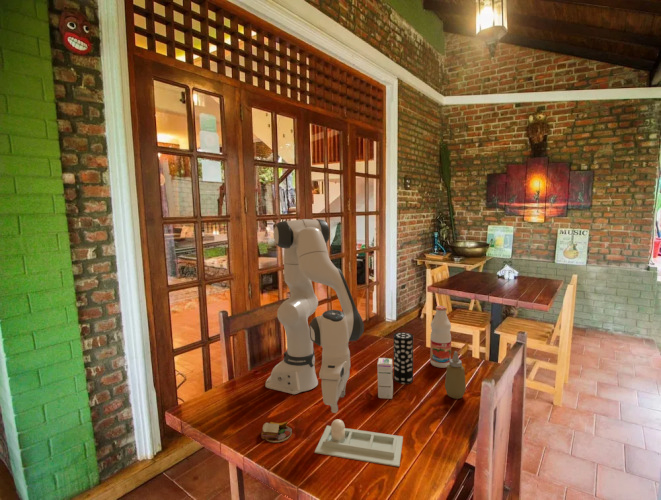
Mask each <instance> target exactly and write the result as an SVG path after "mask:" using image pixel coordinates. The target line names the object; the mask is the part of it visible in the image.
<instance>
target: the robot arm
mask: <svg viewBox="0 0 661 500" xmlns="http://www.w3.org/2000/svg"><path fill="white" fill-rule="evenodd" d="M330 232H331V230H330V226H329V224H328V223H327V221H326V220H323V219H319V218H316V219H312V218H301V219H294V220H288V221H286V220H283V221H279V222H277V223H276V225H275V226H274V230H273V233H272V234H273V240H274V243H275V245H276V246H277V247H279V248H281V249H284V250H283V273H284V275H283V276H284V278H283V279H284V283H285V284H286V285H287V287H288V290H289V294H290V297H289V298H287V299H286V300H284V301H283V302H282V303H281V304H280V306H279V307H278V309H277V310H276V311H277V312H276V313H277V314H276V316H277V319H278V322H279V323H280V324H281V325H282V326H283V327H284V331H285V336H286V347H287V348H286V349H285V352H284V353H282V355H281V359H282V360H281V361H280V362H279V363H277V364H276V365H275V366H274V367H273V368H272V370H271V373H270V376H268V377H267V379H266V381H265V388H267V389H271V390H275V391H279V392H283V393H288V394H290V395H291V394H292V395H297V394H299V393H302V392H307V391H310V390H312V389H314V388H316V387H317V386H318V385H319V380H318V378H317V374H316V373H317V372H316V368H315V363H316V357H315V356H316V355H315V350H314V344H316V345H317V346H319V347H322V352H321V366H320V370H319V373H318V376H319V379H320V380H321V394H322V401H323V404H324V405H325V406H330V412H331V413H333V414H337V413H338V412H339V405H338V401H339V399H340V398H344V397H345V395H346V386H347V382H348V380H349V378H350V375H351V373H350V369H351V351H350V349H349V342H357V341H358V340H359V339H360V338H361V337H362V336H363V333H364V331H365V325H364V321H363V318H362V316H361V314H360V312H359V311H358V308H357V306H356V304H355V300H354V298H353V295H352V293H351V291H350V287H349V285H348V282H347V280H346V278H345V276H344V274H343V272H342V270H341V268H339V267H336V265H335V264H334V263H333V262H332V261H331V258H330V255H329V251H328V250H329V249H328V247H327V243H328V241H329V240H330V237H331V235H330ZM313 282H314V283H317V284H321V285H325V286H327V287H330V288H331V289H333V291H335V293H336V296H337V299H338V301H339V305H340V306H341V310H338V309H328V310H326V311H324V312H323V313H322V314H321V315H318V316H315V317H313V319H312V320H311V321H310V323H308V320H309V317H311V316H312V315H313V314H314V313H315V312H316V310H317V308H318V306H319V298H318V297H317V295H316V294H315V291H314V287H313Z"/></svg>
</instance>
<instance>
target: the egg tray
mask: <svg viewBox="0 0 661 500" xmlns="http://www.w3.org/2000/svg"><path fill="white" fill-rule="evenodd" d="M403 439H404V436H403V435H396V434H389V433H388V434H387V433H382V432H374V431H368V430H362V429H361V430H360V429H355V428H354V429H353V428H346V427H345V442H344V443H339V442H333V441H332V440H331V425H326V427H325V428H324V431H323V433H322V435H321V437H320V439H319V442H318V444H317V445H316V448H315V450H314V454H321V455H325V456H332V457H337V458H338V457H339V458H343V459H350V460H356V461H361V462H366V463H367V462H369V463H374V464H379V465H385V466H386V465H387V466H392V467H398V468H399V467H400V464H401V457H402V450H403V443H404V442H403V441H404V440H403Z"/></svg>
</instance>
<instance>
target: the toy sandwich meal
mask: <svg viewBox="0 0 661 500" xmlns="http://www.w3.org/2000/svg"><path fill="white" fill-rule="evenodd" d="M288 422H289V421H284V422H273V421H270V422H265V423H264V424H263V425H262V429H261V432H260V437H261V439H262V440H266V441H267V442H269V443H274V444H275V443H277V444H278V443H281V442H285V441H287V440H288V439H290V437H291V436H292V433H293V430H292V428H291V427H289V426H287V425H288Z"/></svg>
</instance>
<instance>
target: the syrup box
mask: <svg viewBox="0 0 661 500" xmlns="http://www.w3.org/2000/svg"><path fill="white" fill-rule="evenodd" d="M376 364H377V366H376V367H377V369H376V370H377V397H378V398H379V399H387V400H389V399H390V400H392V399H393V395H394V369H393V358H389V357H378V360H377V363H376Z"/></svg>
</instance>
